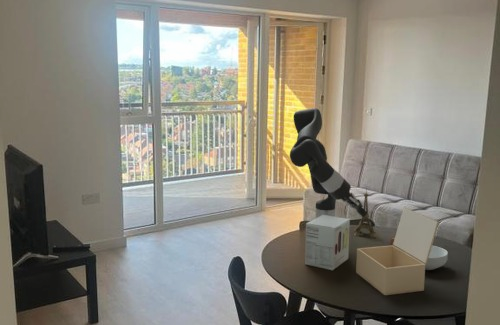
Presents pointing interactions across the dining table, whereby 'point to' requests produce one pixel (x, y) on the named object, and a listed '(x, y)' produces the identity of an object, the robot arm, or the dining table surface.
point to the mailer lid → (415, 234)
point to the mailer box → (390, 270)
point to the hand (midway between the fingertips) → (364, 214)
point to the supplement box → (327, 241)
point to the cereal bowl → (435, 258)
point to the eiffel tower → (365, 224)
